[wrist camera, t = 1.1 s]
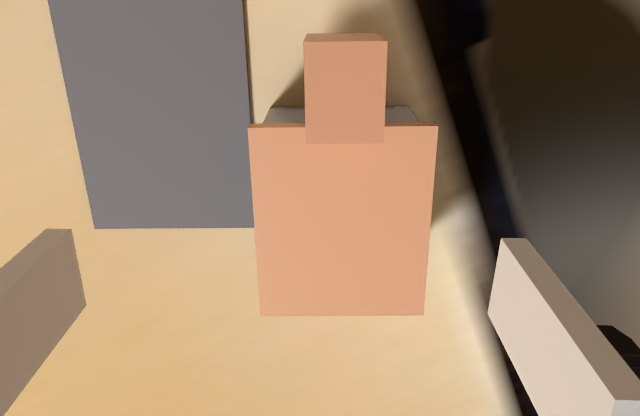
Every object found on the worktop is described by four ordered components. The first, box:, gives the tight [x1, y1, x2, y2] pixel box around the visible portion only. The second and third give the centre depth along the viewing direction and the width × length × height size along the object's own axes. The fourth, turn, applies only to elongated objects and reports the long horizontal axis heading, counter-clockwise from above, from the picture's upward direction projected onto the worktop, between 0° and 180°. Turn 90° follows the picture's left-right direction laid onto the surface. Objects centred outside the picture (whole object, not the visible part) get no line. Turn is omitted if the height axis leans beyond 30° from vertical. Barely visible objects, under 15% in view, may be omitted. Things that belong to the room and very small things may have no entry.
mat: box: [48, 0, 254, 229], centre depth 37 cm, size 17×13×1 cm
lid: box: [248, 33, 438, 316], centre depth 30 cm, size 18×11×5 cm, turn 1°
